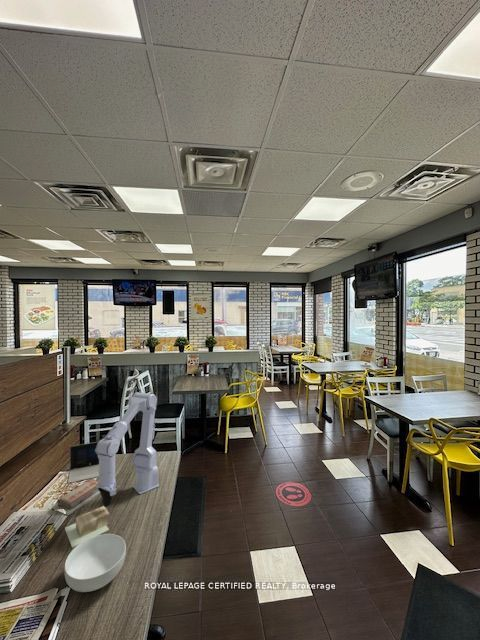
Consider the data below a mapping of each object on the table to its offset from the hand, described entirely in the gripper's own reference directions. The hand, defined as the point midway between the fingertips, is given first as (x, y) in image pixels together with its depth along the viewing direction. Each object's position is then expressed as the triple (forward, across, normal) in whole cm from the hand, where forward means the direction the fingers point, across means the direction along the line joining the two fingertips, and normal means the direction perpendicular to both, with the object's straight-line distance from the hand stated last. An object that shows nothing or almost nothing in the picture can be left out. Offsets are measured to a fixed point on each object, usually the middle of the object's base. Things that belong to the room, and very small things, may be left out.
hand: (106, 505), depth 110 cm
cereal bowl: (+6, +23, -10) cm, 26 cm away
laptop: (+6, -42, +4) cm, 42 cm away
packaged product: (+7, -21, -5) cm, 23 cm away
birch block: (+4, 0, 0) cm, 4 cm away
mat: (+6, 0, -7) cm, 9 cm away
